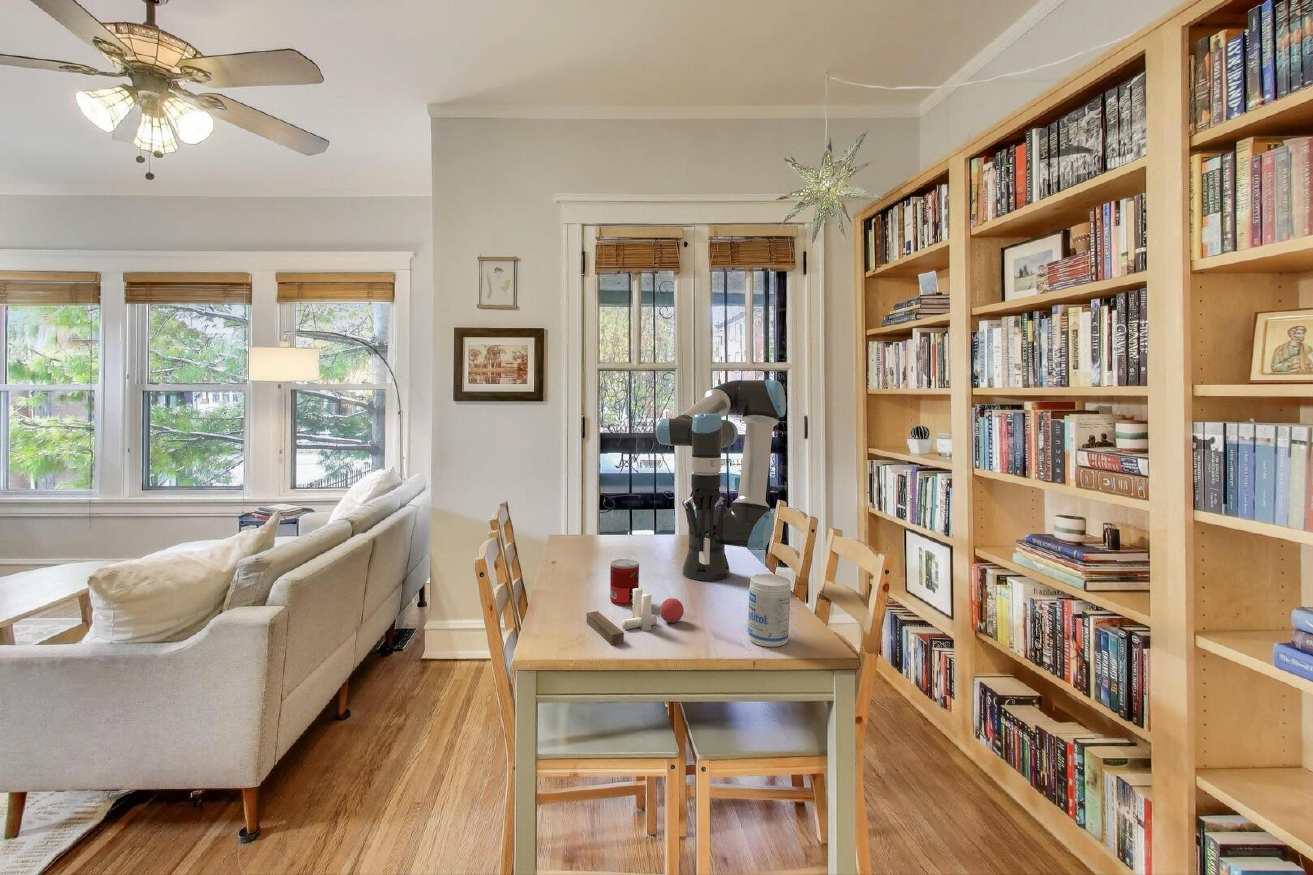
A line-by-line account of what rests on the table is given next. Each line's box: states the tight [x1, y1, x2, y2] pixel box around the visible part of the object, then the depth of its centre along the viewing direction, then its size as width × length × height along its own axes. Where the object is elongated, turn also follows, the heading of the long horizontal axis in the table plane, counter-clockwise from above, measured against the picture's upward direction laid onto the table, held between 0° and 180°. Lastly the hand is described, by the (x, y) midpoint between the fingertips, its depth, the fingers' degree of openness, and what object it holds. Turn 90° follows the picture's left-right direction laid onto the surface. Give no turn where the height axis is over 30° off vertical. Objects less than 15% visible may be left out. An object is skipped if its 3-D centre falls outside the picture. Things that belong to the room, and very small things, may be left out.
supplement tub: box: [747, 573, 792, 648], centre depth 146 cm, size 10×10×15 cm
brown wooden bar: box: [586, 610, 625, 646], centre depth 150 cm, size 3×16×2 cm, turn 27°
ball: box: [659, 598, 685, 624], centre depth 158 cm, size 6×6×6 cm
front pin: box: [621, 614, 658, 631], centre depth 154 cm, size 2×2×8 cm
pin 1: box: [632, 587, 643, 618], centre depth 157 cm, size 2×2×8 cm
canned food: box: [609, 558, 640, 606], centre depth 173 cm, size 8×8×11 cm
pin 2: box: [640, 593, 652, 632], centre depth 152 cm, size 2×2×8 cm
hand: (704, 563), depth 162 cm, fingers closed
